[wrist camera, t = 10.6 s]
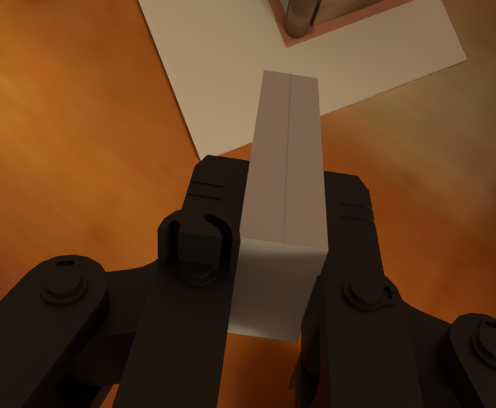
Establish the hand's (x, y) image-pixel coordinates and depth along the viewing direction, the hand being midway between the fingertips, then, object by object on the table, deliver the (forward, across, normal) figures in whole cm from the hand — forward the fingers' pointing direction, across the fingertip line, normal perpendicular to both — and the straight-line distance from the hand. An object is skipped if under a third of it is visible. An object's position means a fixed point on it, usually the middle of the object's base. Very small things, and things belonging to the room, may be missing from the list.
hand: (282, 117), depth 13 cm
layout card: (+31, 0, -6) cm, 32 cm away
